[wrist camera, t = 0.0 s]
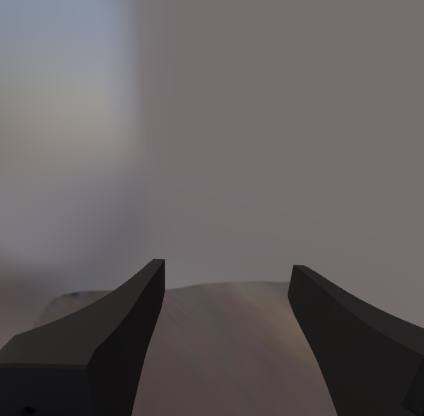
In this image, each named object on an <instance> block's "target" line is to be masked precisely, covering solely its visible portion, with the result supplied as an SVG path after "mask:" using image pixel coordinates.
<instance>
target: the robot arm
mask: <svg viewBox="0 0 424 416" xmlns="http://www.w3.org/2000/svg"><path fill="white" fill-rule="evenodd" d="M164 293H165V260H164V259H153V260H152V261H151V262H149V263H148V264H147V265H146V266H145V267H144V268H143V269H142V270H140V271H139V272H138V273H137V274H135V275H134V276H133V277H132V278H131V279H129V280H128V281H127V282H125V283H124V284H123V285H121V286H120V287H119V288H117V289H116V290H114V291H113V292H111V293H110V294H108V295H106V296H105V297H103V298H101V299H100V300H98V301H96V302H94V303H92V304H90V305H88V306H86V307H85V308H83V309H81V310H79V311H77V312H75V313H72V314H70V315H68V316H66V317H63V318H61V319H59V320H56V321H54V322H51V323H49V324H46V325H43V326H41V327H38V328H35V329H32V330H29V331H26V332H24V333H21V334H18V335H15V336H14V337H13V338H12V339H11V340H10V341H9V342H8V343H7V344H6V345H5V346H4V347H3V348H2V349H1V350H0V416H131V414H132V410H133V405H134V401H135V396H136V392H137V388H138V383H139V379H140V375H141V371H142V367H143V363H144V359H145V355H146V352H147V348H148V345H149V343H150V340H151V337H152V334H153V331H154V328H155V325H156V322H157V319H158V316H159V313H160V310H161V307H162V302H163V298H164ZM288 299H289V302H290V305H291V308H292V310H293V313H294V315H295V317H296V319H297V321H298V323H299V325H300V327H301V329H302V331H303V333H304V335H305V337H306V339H307V341H308V343H309V345H310V347H311V349H312V351H313V353H314V355H315V357H316V360H317V362H318V364H319V367H320V369H321V372H322V374H323V377H324V379H325V382H326V385H327V387H328V390H329V393H330V395H331V398H332V401H333V404H334V406H335V409H336V412H337V415H338V416H424V328H421V327H419V326H416V325H414V324H411V323H409V322H407V321H404V320H402V319H399V318H397V317H395V316H393V315H390V314H388V313H386V312H384V311H382V310H379V309H378V308H376V307H374V306H372V305H370V304H368V303H366V302H364V301H362V300H360V299H359V298H357V297H355V296H353V295H352V294H350V293H348V292H347V291H345V290H343V289H342V288H340V287H338V286H337V285H335V284H333V283H332V282H330V281H329V280H327V279H326V278H324V277H322V276H321V275H320V274H318V273H316V272H315V271H313V270H312V269H310V268H308V267H306V266H304V265H293V270H292V276H291V281H290V286H289V291H288Z"/></svg>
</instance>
